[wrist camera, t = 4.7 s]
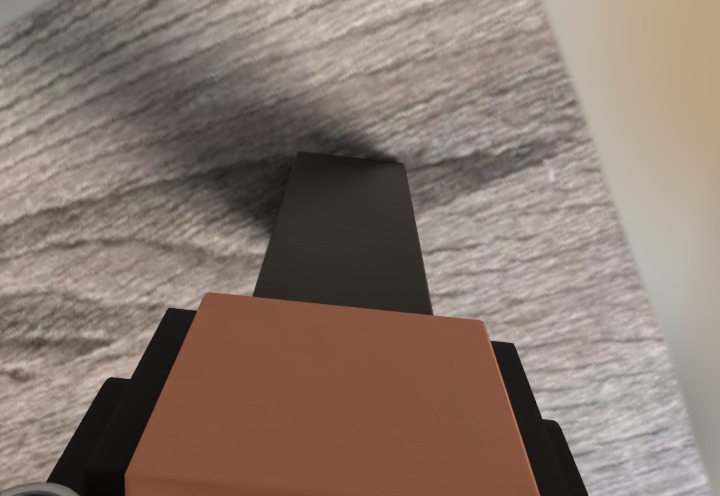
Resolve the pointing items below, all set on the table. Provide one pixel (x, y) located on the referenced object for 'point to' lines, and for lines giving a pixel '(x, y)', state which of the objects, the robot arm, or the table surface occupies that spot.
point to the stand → (346, 238)
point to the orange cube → (330, 407)
